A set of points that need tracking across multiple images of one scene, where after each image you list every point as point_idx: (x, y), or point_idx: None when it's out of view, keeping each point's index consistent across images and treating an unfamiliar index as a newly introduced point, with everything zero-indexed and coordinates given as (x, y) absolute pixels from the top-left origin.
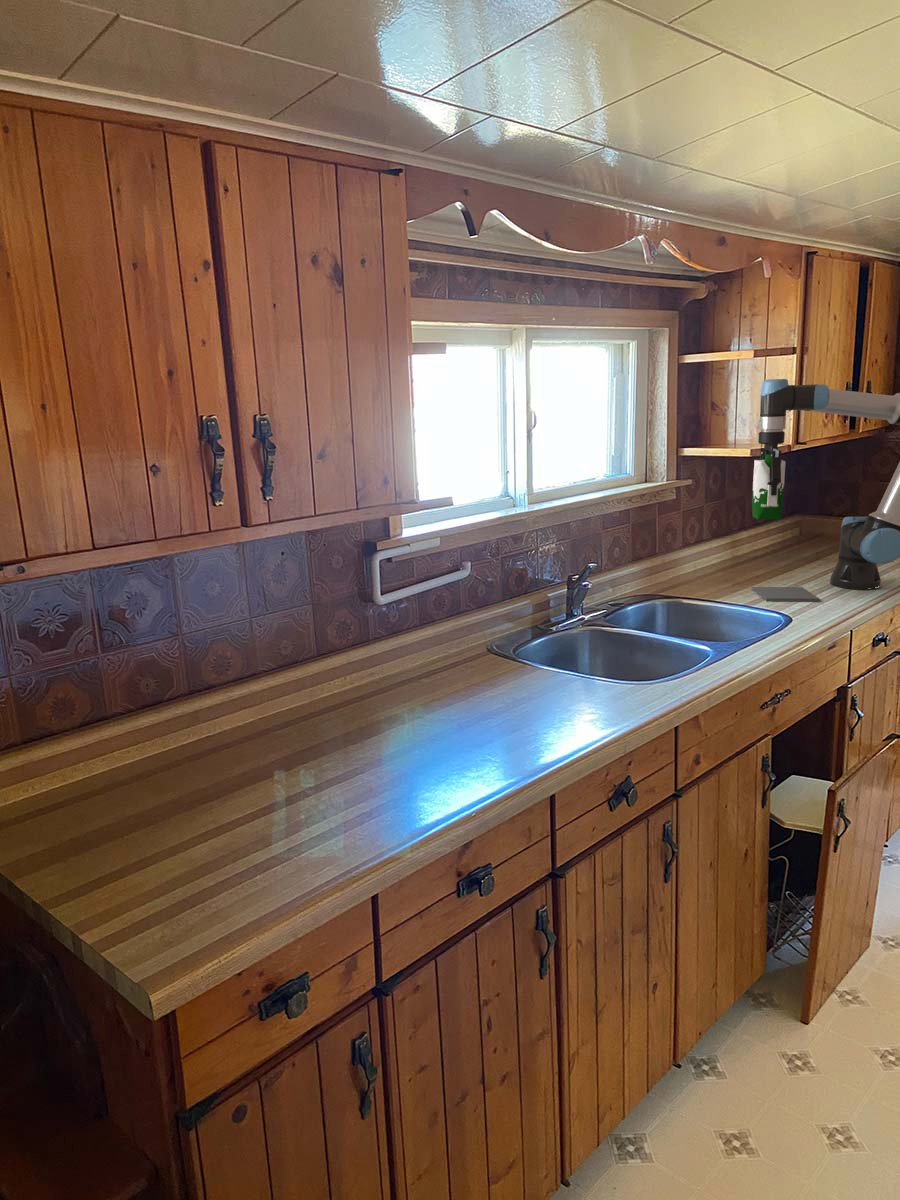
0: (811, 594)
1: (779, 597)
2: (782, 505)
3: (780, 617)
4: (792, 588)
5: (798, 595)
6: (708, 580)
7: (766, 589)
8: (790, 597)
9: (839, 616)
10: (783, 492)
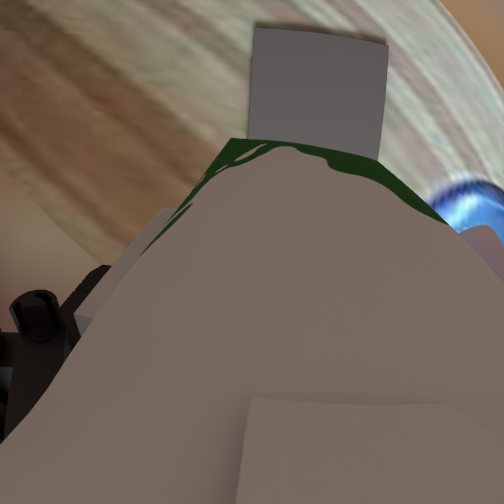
0: (344, 41)
1: (371, 134)
2: (381, 164)
3: (485, 200)
4: (271, 57)
5: (353, 77)
6: (145, 224)
7: (280, 128)
8: (373, 107)
9: (495, 86)
10: (416, 194)
